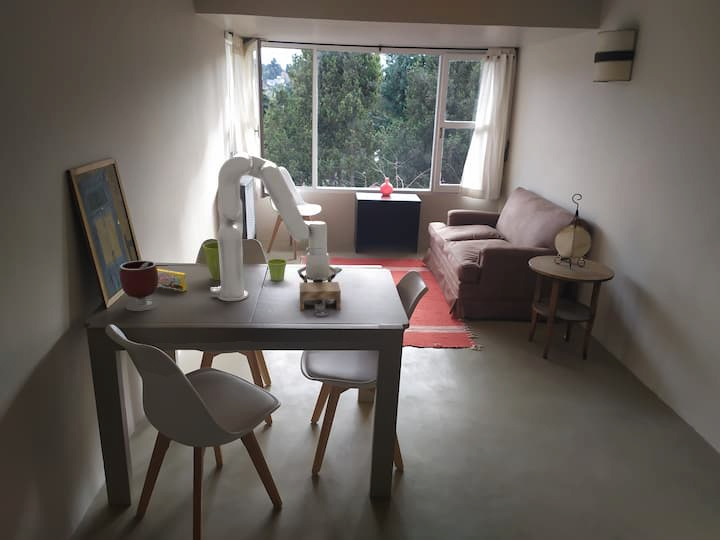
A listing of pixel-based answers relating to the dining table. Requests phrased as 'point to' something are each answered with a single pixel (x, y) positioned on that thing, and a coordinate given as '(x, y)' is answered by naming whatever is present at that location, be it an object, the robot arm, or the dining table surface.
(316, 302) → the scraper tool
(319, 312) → the steel disc
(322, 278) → the stone slab
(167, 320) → the dining table surface
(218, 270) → the flower pot
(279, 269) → the plant pot
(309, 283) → the walnut shelf
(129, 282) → the mate gourd
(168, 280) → the candy box
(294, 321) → the dining table surface
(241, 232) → the robot arm
